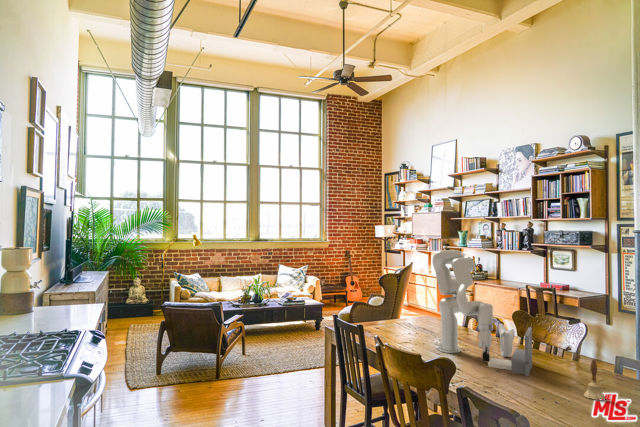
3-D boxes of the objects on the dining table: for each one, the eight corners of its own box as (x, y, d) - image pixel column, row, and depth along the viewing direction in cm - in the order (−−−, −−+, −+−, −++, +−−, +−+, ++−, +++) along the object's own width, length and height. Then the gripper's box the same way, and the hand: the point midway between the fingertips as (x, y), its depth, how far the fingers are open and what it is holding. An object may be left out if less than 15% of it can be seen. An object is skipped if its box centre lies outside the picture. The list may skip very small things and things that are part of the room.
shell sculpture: (516, 359, 239) (515, 326, 240) (500, 358, 241) (499, 325, 241) (512, 354, 247) (512, 323, 248) (497, 353, 249) (496, 322, 249)
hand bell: (579, 393, 189) (578, 357, 189) (596, 393, 190) (595, 356, 190) (592, 401, 181) (591, 363, 181) (610, 400, 181) (610, 362, 182)
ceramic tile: (488, 367, 226) (488, 362, 226) (490, 362, 235) (490, 357, 235) (521, 372, 218) (521, 367, 218) (522, 367, 227) (522, 362, 227)
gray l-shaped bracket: (511, 373, 215) (510, 333, 215) (516, 362, 233) (515, 325, 233) (528, 376, 210) (528, 335, 211) (532, 364, 228) (531, 327, 229)
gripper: (481, 323, 240) (481, 356, 239) (475, 328, 227) (475, 363, 226) (495, 324, 236) (495, 358, 235) (490, 330, 223) (490, 365, 222)
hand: (486, 360), depth 231 cm, fingers closed
